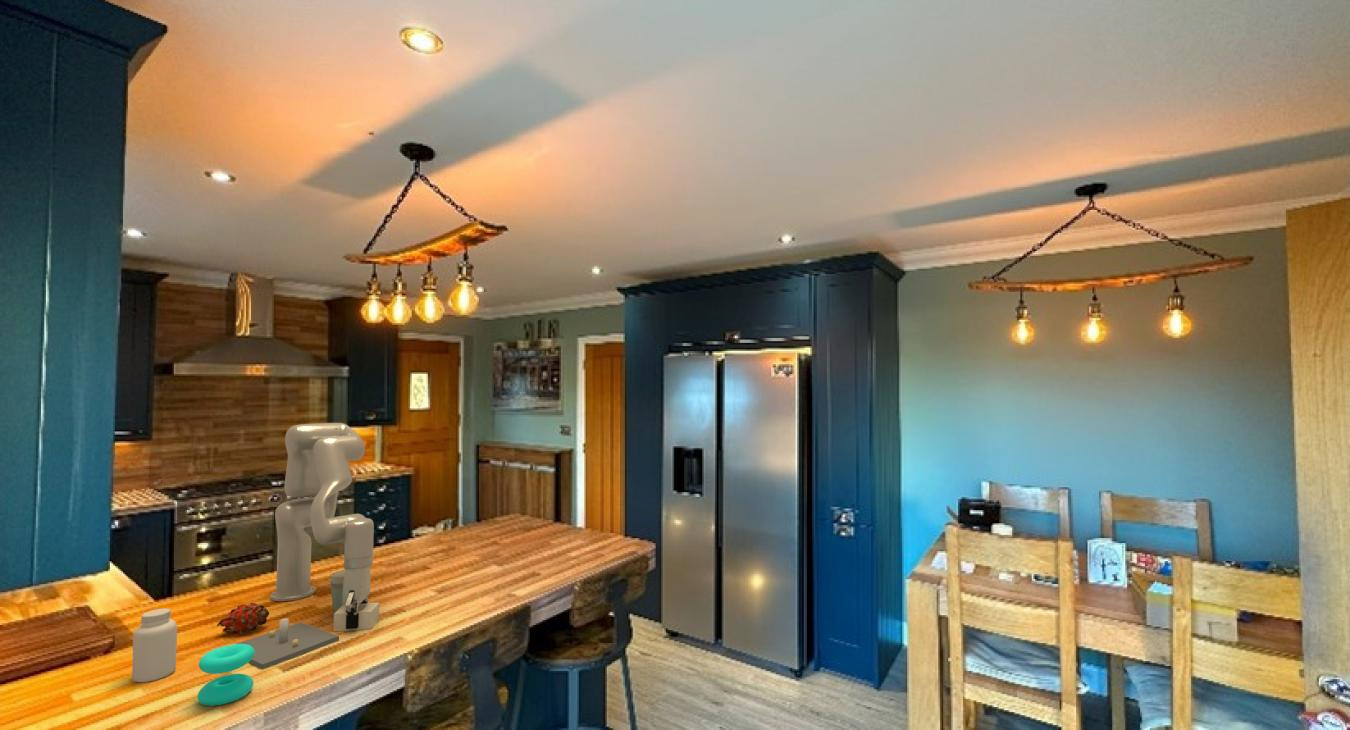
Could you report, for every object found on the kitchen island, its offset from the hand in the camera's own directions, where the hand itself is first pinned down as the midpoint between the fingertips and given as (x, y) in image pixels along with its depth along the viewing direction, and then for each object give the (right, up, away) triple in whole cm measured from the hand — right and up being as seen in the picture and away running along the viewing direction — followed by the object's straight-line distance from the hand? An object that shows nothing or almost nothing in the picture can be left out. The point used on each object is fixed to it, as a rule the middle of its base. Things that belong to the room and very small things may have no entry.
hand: (356, 622), depth 170 cm
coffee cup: (-9, -1, +10) cm, 14 cm away
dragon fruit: (-29, -1, -5) cm, 30 cm away
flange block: (0, -1, 0) cm, 1 cm away
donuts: (-8, 0, -39) cm, 40 cm away
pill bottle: (-33, 0, -30) cm, 44 cm away
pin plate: (-12, 0, -14) cm, 18 cm away
